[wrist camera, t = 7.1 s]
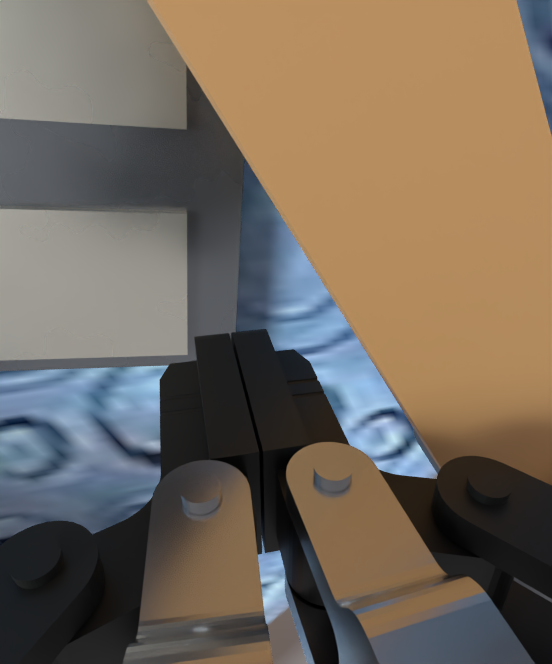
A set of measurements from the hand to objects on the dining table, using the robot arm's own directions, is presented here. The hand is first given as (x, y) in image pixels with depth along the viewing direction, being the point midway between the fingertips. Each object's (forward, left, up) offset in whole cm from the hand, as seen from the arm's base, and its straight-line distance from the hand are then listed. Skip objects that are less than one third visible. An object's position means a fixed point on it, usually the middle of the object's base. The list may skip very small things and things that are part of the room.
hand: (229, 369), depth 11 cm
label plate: (-3, -4, -6) cm, 8 cm away
